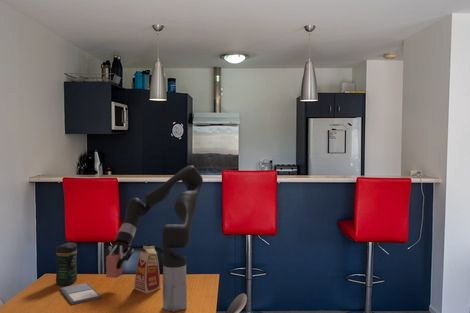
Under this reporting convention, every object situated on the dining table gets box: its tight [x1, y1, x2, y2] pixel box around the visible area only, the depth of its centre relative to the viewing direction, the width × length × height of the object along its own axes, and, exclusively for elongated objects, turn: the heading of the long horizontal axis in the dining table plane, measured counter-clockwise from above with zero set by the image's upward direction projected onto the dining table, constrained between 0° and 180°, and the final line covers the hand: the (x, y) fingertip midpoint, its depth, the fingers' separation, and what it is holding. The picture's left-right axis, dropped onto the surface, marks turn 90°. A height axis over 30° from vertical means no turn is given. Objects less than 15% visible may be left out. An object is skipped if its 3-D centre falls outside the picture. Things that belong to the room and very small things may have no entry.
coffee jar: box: [55, 241, 78, 286], centre depth 189 cm, size 10×8×19 cm
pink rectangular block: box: [105, 253, 123, 279], centre depth 181 cm, size 5×5×9 cm
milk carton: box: [133, 245, 161, 295], centre depth 182 cm, size 9×9×20 cm
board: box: [59, 282, 102, 305], centre depth 175 cm, size 20×12×1 cm, turn 36°
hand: (112, 267), depth 179 cm, fingers closed on pink rectangular block, 5 cm apart
